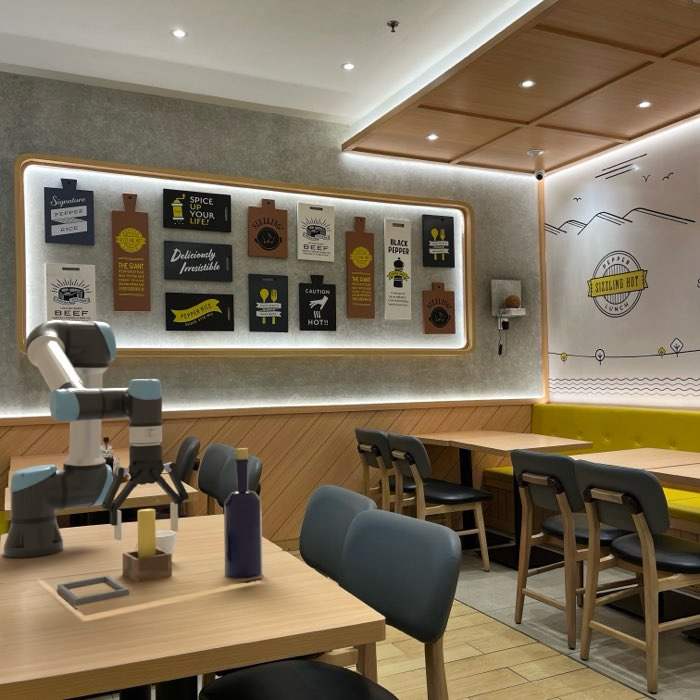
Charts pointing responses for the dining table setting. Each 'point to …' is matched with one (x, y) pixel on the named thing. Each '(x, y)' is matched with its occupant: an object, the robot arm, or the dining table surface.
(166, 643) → the dining table surface
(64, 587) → the tray
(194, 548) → the dining table surface
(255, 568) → the bottle
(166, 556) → the holder
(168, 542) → the cup
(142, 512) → the dowel
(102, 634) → the dining table surface
